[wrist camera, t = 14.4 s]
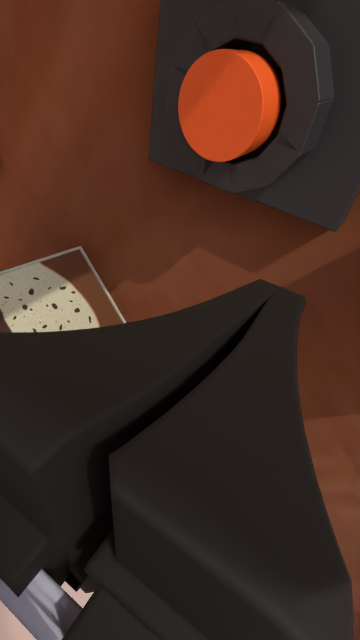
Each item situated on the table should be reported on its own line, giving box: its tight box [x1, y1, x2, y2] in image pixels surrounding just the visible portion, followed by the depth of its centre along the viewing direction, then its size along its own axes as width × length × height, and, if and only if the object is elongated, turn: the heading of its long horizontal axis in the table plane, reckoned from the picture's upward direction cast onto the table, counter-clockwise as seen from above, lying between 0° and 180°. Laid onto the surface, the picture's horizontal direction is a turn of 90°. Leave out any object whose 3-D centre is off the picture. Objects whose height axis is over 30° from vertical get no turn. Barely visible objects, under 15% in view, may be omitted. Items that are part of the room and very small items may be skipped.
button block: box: [149, 0, 360, 231], centre depth 15 cm, size 11×8×4 cm
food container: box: [0, 246, 126, 332], centre depth 29 cm, size 12×6×10 cm, turn 33°
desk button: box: [178, 49, 281, 162], centre depth 13 cm, size 4×4×2 cm
